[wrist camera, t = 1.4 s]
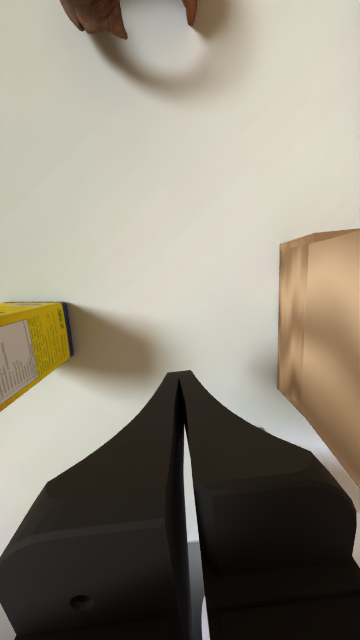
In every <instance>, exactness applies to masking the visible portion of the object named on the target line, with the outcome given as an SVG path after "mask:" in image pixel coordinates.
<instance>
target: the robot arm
mask: <svg viewBox="0 0 360 640" xmlns="http://www.w3.org/2000/svg"><path fill="white" fill-rule="evenodd" d="M184 424H185V430H186V435H187V441H188V446H189V452H190V457H191V467H192V479H193V488H194V497H195V506H196V515H197V524H198V533H199V542H200V551H201V560H202V570H203V581H204V591H205V596H204V599H203V606H202V638H203V640H360V568H359V566H358V565H357V563H356V562H355V560H354V558H353V557H352V552H353V546H354V540H355V534H356V525H357V524H356V509H355V507H354V504H353V502H352V500H351V498H350V497H349V496H348V495H347V493H346V492H345V491H344V490H343V488H342V487H341V486H340V485H339V483H338V482H337V481H336V480H335V478H334V477H333V476H332V475H331V474H330V472H329V471H328V470H327V469H326V468H325V467H324V466H323V465H322V463H321V462H320V461H319V460H318V459H317V458H316V457H315V456H314V455H313V454H312V452H311V451H308V450H306V449H304V448H301V447H299V446H296V445H294V444H292V443H289V442H287V441H284V440H282V439H280V438H277V437H275V436H273V435H271V434H269V433H267V432H265V431H263V430H261V429H260V428H257V427H256V426H254V425H252V424H250V423H248V422H247V421H245V420H244V419H242V418H240V417H239V416H237V415H236V414H234V413H233V412H231V411H230V410H228V409H227V408H226V407H225V406H223V405H222V404H221V403H220V402H219V401H217V400H216V399H215V398H214V397H213V396H212V395H211V394H210V393H209V392H208V391H207V390H206V389H205V388H204V387H203V386H202V384H201V383H200V382H199V381H198V380H197V378H196V377H195V375H194V374H193V372H192V371H191V370H188V371H178V372H169V373H167V374H166V376H165V378H164V379H163V381H162V383H161V384H160V386H159V388H158V389H157V391H156V392H155V394H154V395H153V396H152V398H151V399H150V400H149V402H148V403H147V404H146V405H145V407H144V408H143V409H142V410H141V411H140V412H139V414H138V415H137V416H136V417H135V418H134V419H133V420H132V421H131V422H130V423H129V424H128V425H126V426H125V427H124V428H123V429H122V430H121V431H120V432H118V433H117V434H116V435H115V436H114V437H113V438H112V439H110V440H109V441H108V442H106V443H105V444H104V445H103V446H101V447H100V448H99V449H97V450H96V451H94V452H93V453H92V454H90V455H89V456H87V457H86V458H85V459H83V460H82V461H80V462H79V463H77V464H75V465H74V466H72V467H71V468H69V469H68V470H66V471H65V472H63V473H61V474H60V475H58V476H57V477H55V478H54V479H52V480H50V481H49V482H47V484H46V485H45V487H44V488H43V490H42V491H41V493H40V494H39V495H38V497H37V498H36V500H35V501H34V503H33V505H32V506H31V508H30V510H29V511H28V513H27V514H26V516H25V518H24V519H23V521H22V523H21V524H20V526H19V527H18V529H17V531H16V532H15V534H14V536H13V537H12V539H11V540H10V542H9V544H8V545H7V547H6V549H5V550H4V552H3V553H2V555H1V557H0V603H1V605H2V607H3V609H4V611H5V613H6V615H7V617H8V619H9V621H10V623H11V625H12V627H13V629H14V631H15V633H16V637H15V639H14V640H194V638H193V625H192V608H191V594H190V578H189V562H188V546H187V530H186V514H185V497H184V477H183V463H184Z"/></svg>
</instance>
